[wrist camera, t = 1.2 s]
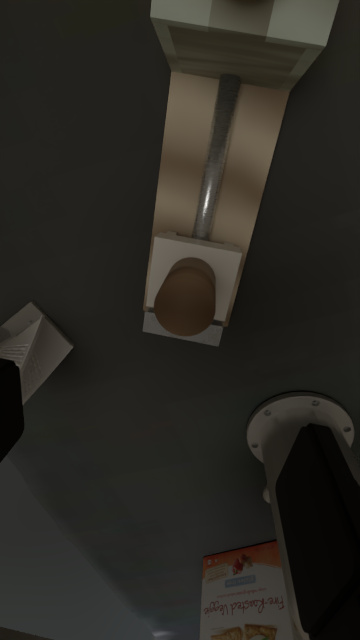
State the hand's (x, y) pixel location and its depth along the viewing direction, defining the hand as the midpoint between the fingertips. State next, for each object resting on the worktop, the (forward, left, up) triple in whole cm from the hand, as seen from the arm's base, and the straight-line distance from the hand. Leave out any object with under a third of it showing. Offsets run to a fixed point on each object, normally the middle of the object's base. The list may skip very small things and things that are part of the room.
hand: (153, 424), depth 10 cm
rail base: (+7, 0, -22) cm, 23 cm away
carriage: (0, 0, -20) cm, 20 cm away
